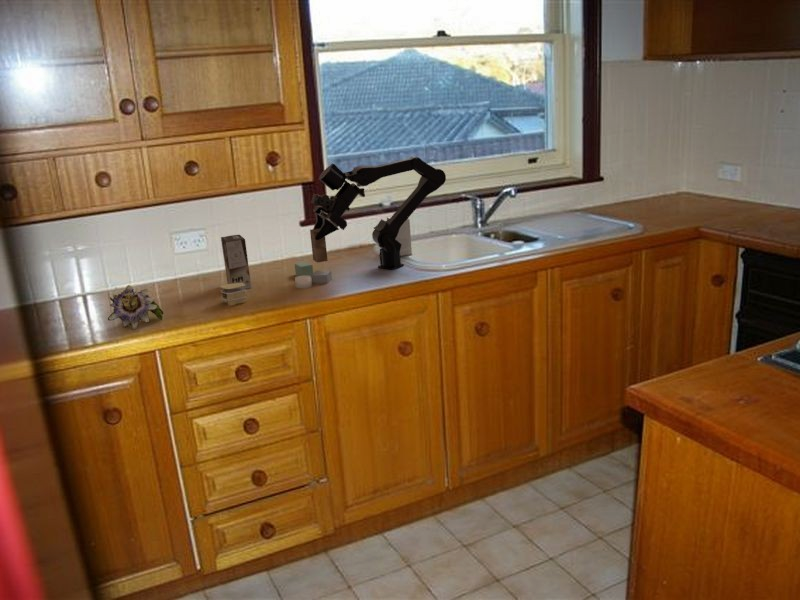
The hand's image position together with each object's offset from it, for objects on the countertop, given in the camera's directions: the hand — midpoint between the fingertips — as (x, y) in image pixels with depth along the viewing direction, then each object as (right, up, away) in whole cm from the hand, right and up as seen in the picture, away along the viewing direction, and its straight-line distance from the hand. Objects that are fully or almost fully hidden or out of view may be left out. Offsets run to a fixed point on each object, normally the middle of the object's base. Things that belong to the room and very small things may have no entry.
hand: (313, 238), depth 238 cm
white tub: (-3, -16, -4) cm, 16 cm away
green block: (-4, -12, +9) cm, 16 cm away
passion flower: (-46, -27, -29) cm, 61 cm away
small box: (+28, -3, +30) cm, 41 cm away
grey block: (+3, -14, +1) cm, 14 cm away
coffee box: (-24, -16, +1) cm, 29 cm away
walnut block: (+2, -7, +3) cm, 8 cm away
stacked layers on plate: (-22, -21, -15) cm, 34 cm away
